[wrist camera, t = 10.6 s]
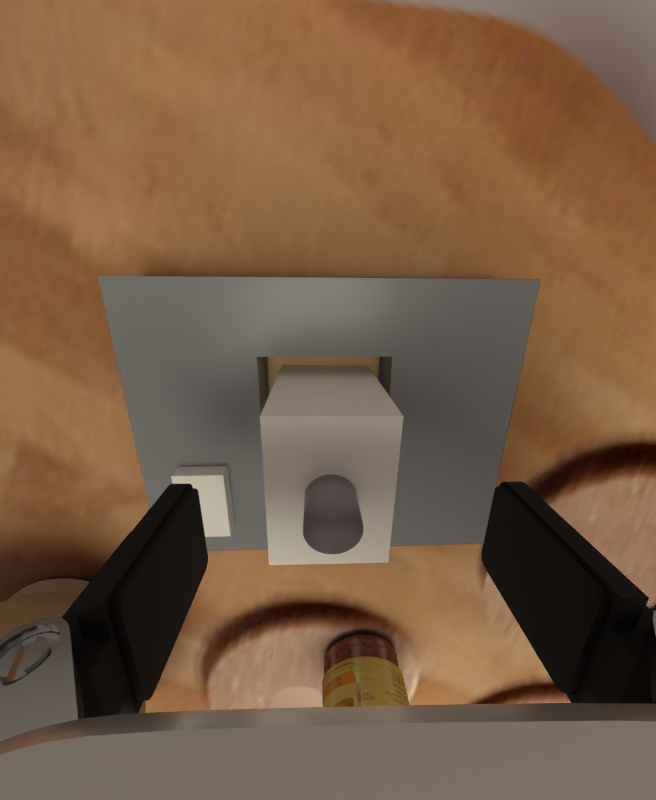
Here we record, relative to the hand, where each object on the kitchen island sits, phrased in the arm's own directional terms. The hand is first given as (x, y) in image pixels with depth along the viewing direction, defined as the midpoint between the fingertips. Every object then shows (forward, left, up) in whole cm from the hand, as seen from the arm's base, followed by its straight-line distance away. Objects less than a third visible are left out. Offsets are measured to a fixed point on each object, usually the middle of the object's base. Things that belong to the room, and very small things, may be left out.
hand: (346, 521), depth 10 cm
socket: (+1, 0, -9) cm, 9 cm away
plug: (0, 0, -8) cm, 8 cm away
